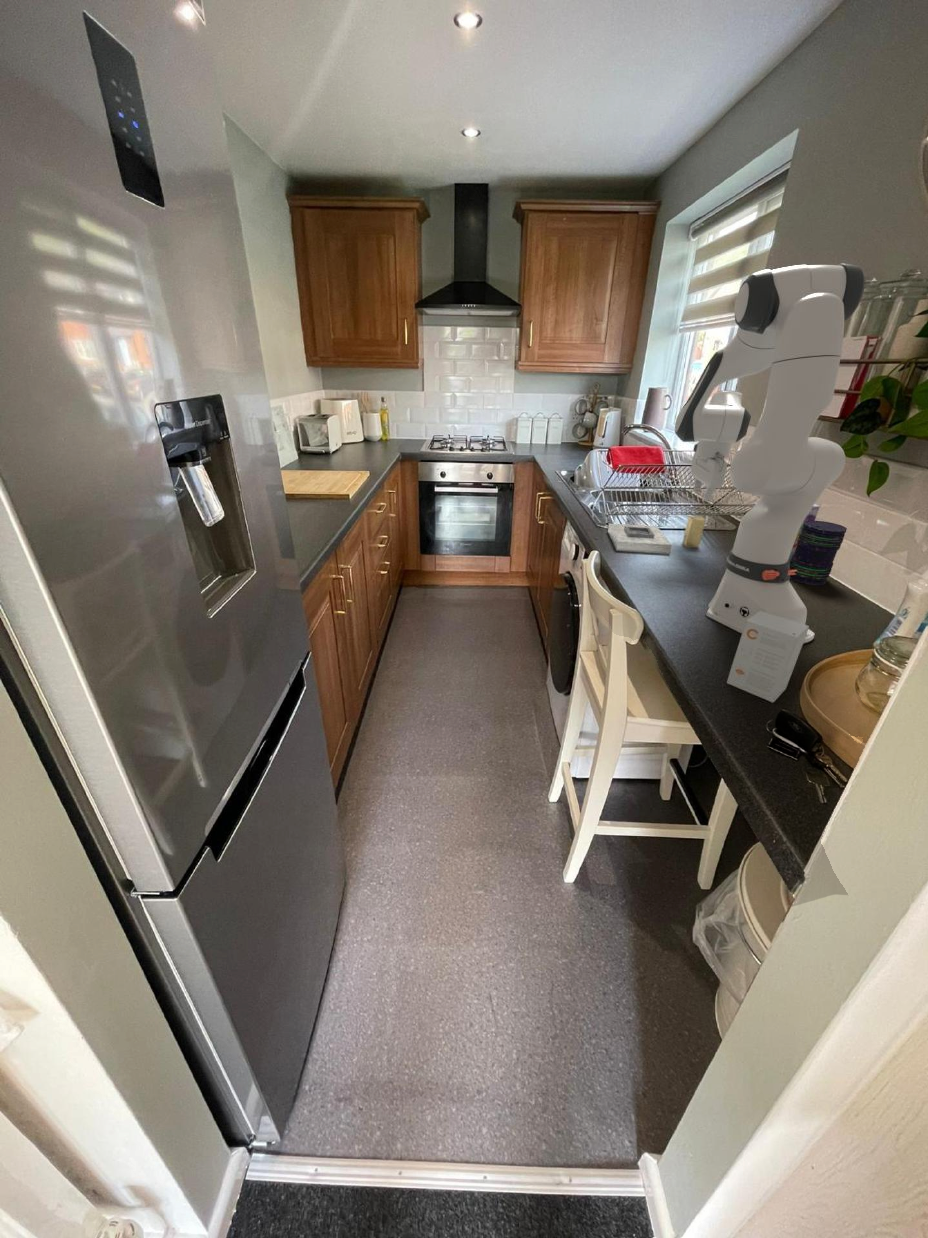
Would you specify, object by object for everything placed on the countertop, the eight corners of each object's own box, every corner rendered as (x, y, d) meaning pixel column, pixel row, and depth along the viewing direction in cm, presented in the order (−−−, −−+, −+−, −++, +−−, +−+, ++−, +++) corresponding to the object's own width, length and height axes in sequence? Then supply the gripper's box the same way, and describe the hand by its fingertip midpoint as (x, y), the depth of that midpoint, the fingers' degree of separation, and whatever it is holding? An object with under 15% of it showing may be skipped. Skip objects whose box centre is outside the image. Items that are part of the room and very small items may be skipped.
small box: (785, 689, 88) (811, 625, 82) (773, 704, 84) (798, 637, 78) (739, 670, 94) (759, 609, 88) (725, 683, 90) (745, 619, 84)
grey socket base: (669, 554, 152) (672, 541, 150) (616, 550, 154) (618, 538, 152) (655, 534, 170) (657, 523, 168) (607, 531, 171) (609, 520, 170)
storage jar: (802, 569, 143) (820, 519, 136) (835, 582, 135) (856, 529, 128) (777, 573, 140) (794, 521, 133) (809, 586, 132) (829, 532, 125)
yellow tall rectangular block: (698, 547, 158) (705, 520, 154) (685, 546, 159) (692, 519, 155) (695, 543, 162) (701, 516, 158) (682, 543, 162) (688, 516, 158)
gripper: (737, 456, 138) (723, 505, 144) (713, 445, 155) (701, 489, 162) (713, 455, 138) (700, 504, 145) (692, 444, 156) (682, 488, 163)
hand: (701, 496), depth 153 cm, fingers open, 8 cm apart
